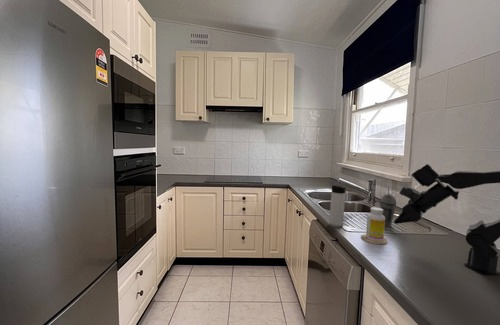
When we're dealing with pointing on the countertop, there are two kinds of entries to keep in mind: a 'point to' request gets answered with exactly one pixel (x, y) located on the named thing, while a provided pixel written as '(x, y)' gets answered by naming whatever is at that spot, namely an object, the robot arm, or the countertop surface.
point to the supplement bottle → (375, 224)
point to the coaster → (374, 241)
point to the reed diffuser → (388, 208)
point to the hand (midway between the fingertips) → (397, 219)
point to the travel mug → (337, 206)
